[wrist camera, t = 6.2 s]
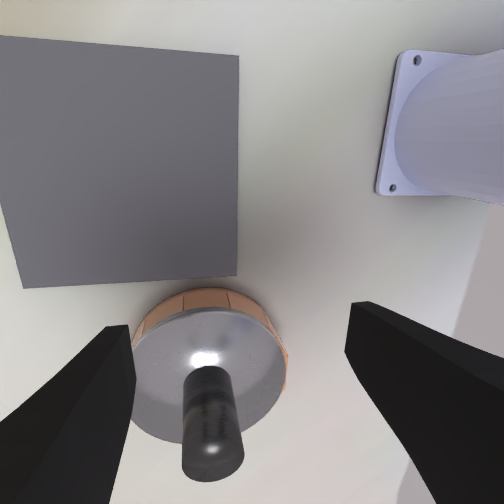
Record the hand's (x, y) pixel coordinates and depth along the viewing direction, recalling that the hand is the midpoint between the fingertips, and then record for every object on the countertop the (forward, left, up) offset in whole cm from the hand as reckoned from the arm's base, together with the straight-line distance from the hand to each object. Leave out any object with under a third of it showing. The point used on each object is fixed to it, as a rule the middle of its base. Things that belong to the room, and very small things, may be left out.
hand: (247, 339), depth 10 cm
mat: (+5, -4, -10) cm, 12 cm away
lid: (+1, +8, -7) cm, 10 cm away
